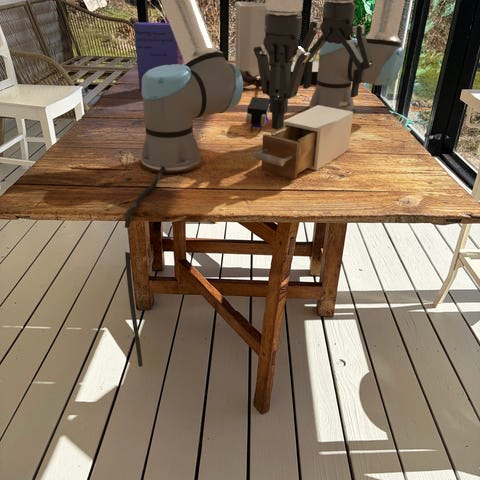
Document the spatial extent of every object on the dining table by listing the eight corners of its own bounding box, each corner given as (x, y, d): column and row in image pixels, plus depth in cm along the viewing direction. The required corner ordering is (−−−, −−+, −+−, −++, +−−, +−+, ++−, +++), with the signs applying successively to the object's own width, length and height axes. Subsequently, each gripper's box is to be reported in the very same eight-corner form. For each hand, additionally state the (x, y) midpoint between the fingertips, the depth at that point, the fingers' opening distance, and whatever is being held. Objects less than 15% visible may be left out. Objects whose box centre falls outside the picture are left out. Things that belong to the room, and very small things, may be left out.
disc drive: (287, 84, 198) (287, 71, 196) (281, 72, 218) (282, 61, 215) (329, 84, 199) (330, 72, 196) (320, 72, 218) (321, 61, 216)
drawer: (282, 186, 109) (285, 150, 105) (248, 176, 114) (249, 141, 110) (328, 157, 125) (332, 125, 121) (297, 150, 130) (299, 118, 125)
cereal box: (185, 88, 190) (183, 22, 177) (183, 91, 186) (180, 24, 173) (142, 87, 190) (136, 21, 178) (139, 90, 186) (133, 23, 174)
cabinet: (316, 170, 120) (320, 129, 115) (280, 160, 126) (283, 120, 120) (348, 149, 133) (353, 111, 128) (314, 141, 139) (318, 105, 133)
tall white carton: (273, 76, 210) (276, 6, 196) (239, 77, 209) (240, 6, 194) (266, 67, 226) (268, 2, 212) (235, 67, 225) (235, 1, 210)
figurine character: (266, 138, 144) (270, 118, 156) (267, 114, 140) (271, 95, 151) (244, 136, 145) (250, 117, 157) (244, 113, 140) (250, 94, 152)
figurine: (210, 87, 179) (288, 95, 182) (212, 65, 176) (291, 73, 180) (208, 84, 201) (278, 91, 205) (210, 64, 198) (280, 71, 202)
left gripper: (321, 13, 95) (310, 129, 107) (266, 9, 102) (262, 118, 114) (302, 17, 90) (293, 137, 102) (246, 11, 97) (244, 125, 109)
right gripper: (396, 3, 110) (381, 96, 121) (301, -3, 122) (295, 82, 133) (384, 5, 104) (369, 103, 115) (286, -2, 117) (281, 87, 128)
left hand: (277, 127), depth 108 cm, fingers closed
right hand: (329, 92), depth 124 cm, fingers open, 13 cm apart
